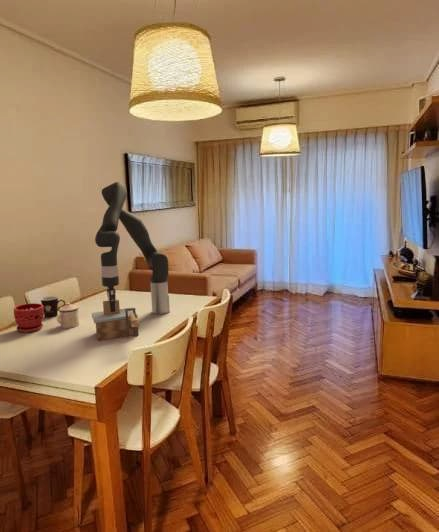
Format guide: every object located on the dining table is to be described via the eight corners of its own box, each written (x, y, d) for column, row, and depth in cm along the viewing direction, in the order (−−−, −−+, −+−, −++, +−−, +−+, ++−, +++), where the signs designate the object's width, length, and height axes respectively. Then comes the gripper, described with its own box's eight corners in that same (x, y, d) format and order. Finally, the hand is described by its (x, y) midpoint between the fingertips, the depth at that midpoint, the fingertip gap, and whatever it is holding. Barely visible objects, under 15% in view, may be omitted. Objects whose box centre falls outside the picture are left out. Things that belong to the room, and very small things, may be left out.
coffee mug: (38, 317, 211) (37, 299, 209) (50, 313, 219) (49, 295, 217) (55, 319, 207) (54, 301, 205) (67, 314, 214) (65, 297, 213)
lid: (132, 310, 192) (131, 295, 190) (137, 317, 180) (136, 302, 178) (91, 315, 184) (90, 300, 183) (94, 323, 172) (93, 307, 171)
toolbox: (134, 327, 190) (133, 301, 188) (138, 336, 178) (137, 308, 176) (96, 332, 184) (94, 305, 182) (97, 342, 172) (95, 312, 170)
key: (134, 317, 174) (134, 311, 174) (138, 326, 162) (138, 319, 162) (128, 318, 173) (127, 312, 173) (131, 327, 161) (131, 320, 161)
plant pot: (18, 336, 182) (15, 311, 180) (14, 329, 193) (11, 305, 190) (48, 330, 190) (46, 306, 188) (42, 323, 200) (39, 301, 198)
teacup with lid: (69, 321, 202) (67, 300, 200) (83, 323, 198) (81, 301, 196) (51, 329, 191) (49, 306, 189) (65, 331, 188) (63, 307, 186)
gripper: (100, 273, 183) (103, 306, 186) (102, 278, 170) (104, 314, 172) (117, 271, 185) (119, 304, 188) (119, 277, 172) (122, 312, 175)
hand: (112, 309), depth 180 cm, fingers open, 8 cm apart
